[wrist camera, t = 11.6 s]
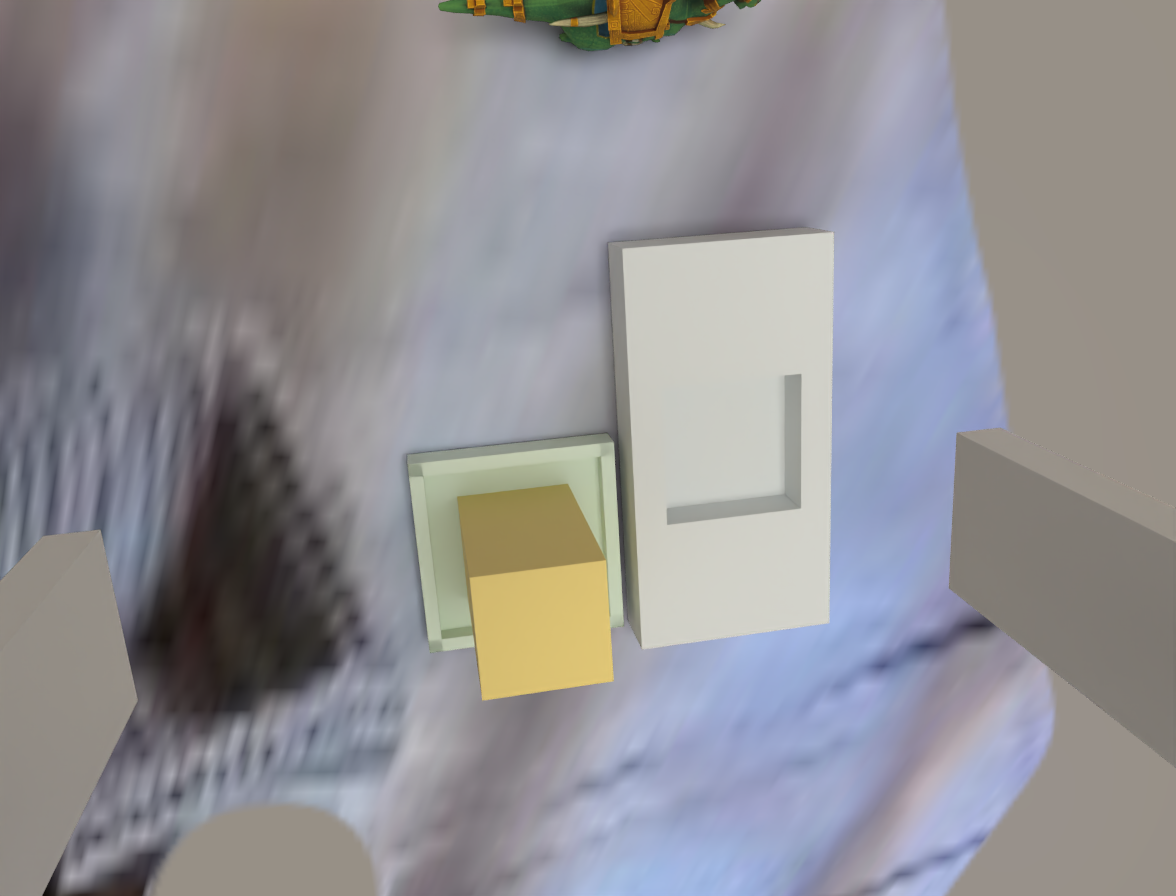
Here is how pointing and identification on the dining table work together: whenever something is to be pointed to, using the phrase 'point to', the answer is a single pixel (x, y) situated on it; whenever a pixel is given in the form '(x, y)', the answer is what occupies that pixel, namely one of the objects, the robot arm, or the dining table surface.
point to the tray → (499, 470)
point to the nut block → (535, 592)
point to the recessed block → (724, 431)
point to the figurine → (603, 17)
